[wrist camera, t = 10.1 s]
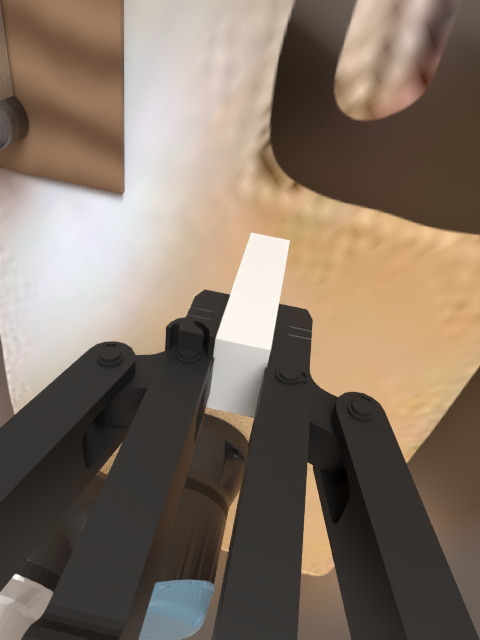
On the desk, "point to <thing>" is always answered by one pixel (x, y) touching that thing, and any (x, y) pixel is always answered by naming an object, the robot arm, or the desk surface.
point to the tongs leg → (9, 100)
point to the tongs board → (68, 89)
